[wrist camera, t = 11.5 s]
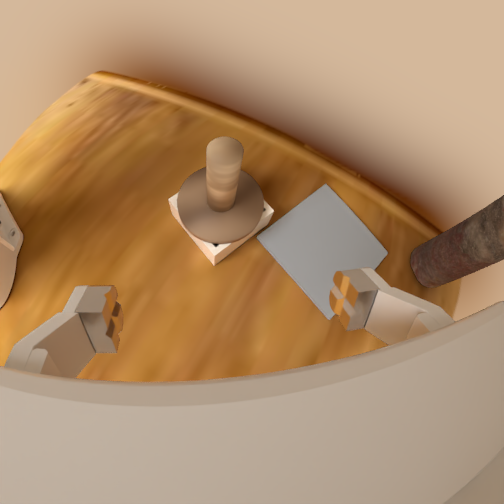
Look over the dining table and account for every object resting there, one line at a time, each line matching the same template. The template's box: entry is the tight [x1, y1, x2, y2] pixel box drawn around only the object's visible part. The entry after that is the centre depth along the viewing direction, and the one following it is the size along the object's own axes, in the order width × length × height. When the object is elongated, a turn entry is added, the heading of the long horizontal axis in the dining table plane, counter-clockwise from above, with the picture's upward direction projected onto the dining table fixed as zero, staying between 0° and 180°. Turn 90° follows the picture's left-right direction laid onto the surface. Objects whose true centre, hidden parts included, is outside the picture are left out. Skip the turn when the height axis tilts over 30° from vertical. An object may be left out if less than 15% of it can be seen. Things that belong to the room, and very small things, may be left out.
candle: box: [411, 195, 504, 288], centre depth 29 cm, size 8×7×20 cm
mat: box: [257, 184, 388, 320], centre depth 36 cm, size 14×14×1 cm
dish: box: [168, 192, 274, 266], centre depth 33 cm, size 9×9×4 cm
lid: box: [177, 137, 264, 244], centre depth 27 cm, size 10×10×10 cm
